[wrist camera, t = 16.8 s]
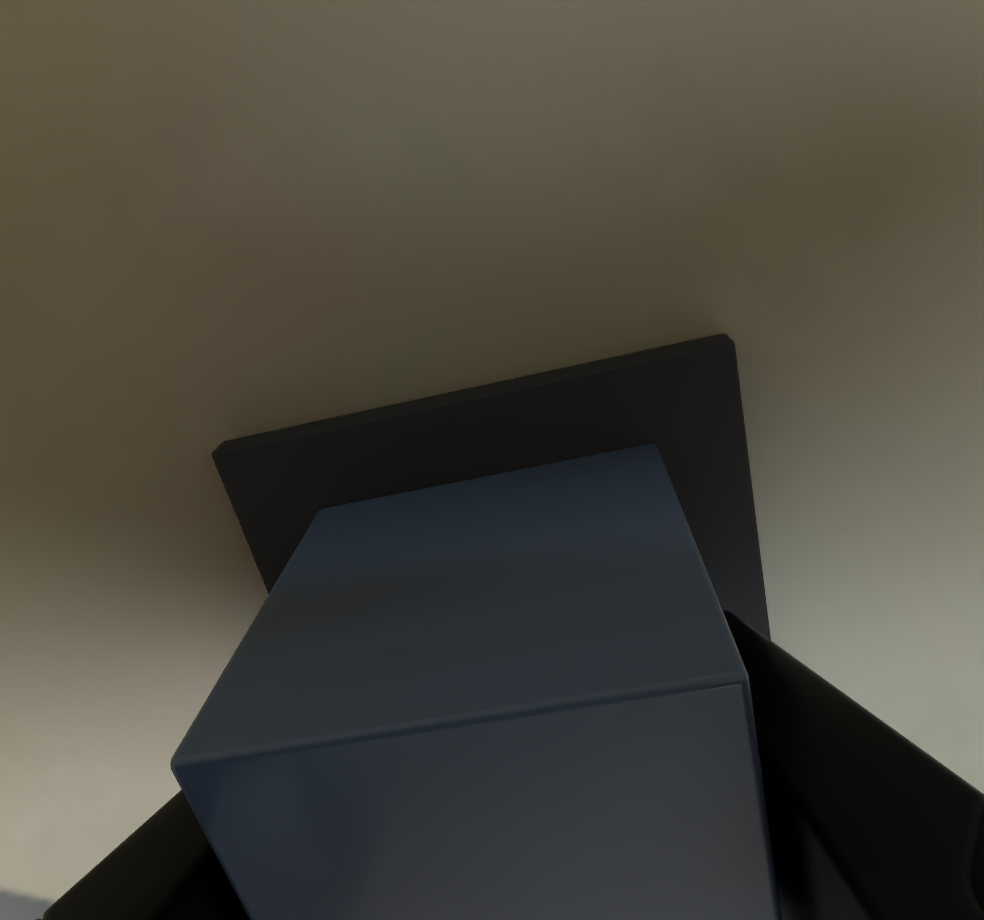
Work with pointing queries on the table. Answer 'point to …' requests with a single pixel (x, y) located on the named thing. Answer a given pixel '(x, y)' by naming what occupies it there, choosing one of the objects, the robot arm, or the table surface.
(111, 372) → the table surface
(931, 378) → the table surface
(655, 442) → the mat
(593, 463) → the block
